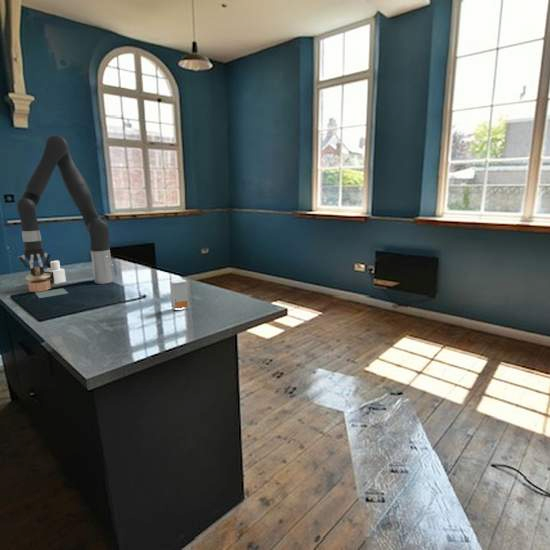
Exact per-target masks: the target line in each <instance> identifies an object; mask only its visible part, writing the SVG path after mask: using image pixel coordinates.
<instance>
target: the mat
mask: <svg viewBox="0 0 550 550" xmlns="http://www.w3.org/2000/svg"><path fill="white" fill-rule="evenodd" d="M35 294H36V296H37V297H38V299H42V298H47V297H48V298H49V297H55V296H60V295H61V296H62V295H65V294H69V292H68V291H67V290H66V289H64V288H63V287H62V288H57V289H51V290H50V289H48V290H45V291H39V292H35Z"/></svg>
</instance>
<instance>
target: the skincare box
mask: <svg viewBox="0 0 550 550" xmlns="http://www.w3.org/2000/svg"><path fill="white" fill-rule="evenodd" d="M169 284H170V298H171V308H172V307H173V308H174V309H175V308H182V307H187V306H188V307H189V295H188V281H187V280H186V279H183V278H182V279H176V280H170V281H169Z"/></svg>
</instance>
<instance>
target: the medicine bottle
mask: <svg viewBox="0 0 550 550" xmlns="http://www.w3.org/2000/svg"><path fill="white" fill-rule="evenodd" d="M60 264H61V263H60V260H57V259H54V260H49V261H48V264H47V265H46V269H45V270H44V273H49V274H50V277H49V278H47V279H49V280H50V285H56V284H60V283H66V282H67V277H66V271H65V268H61V265H60Z"/></svg>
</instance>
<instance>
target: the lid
mask: <svg viewBox="0 0 550 550" xmlns="http://www.w3.org/2000/svg"><path fill="white" fill-rule="evenodd" d="M33 268H34V273H35V276H33V275H32V274H28V275H25V278H24V279H25V280H26V281H32V280H42V279H47V278H49V277H50V274H49V273H43V275H41V271H40V265H38V266H37V265H35V266H33Z"/></svg>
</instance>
